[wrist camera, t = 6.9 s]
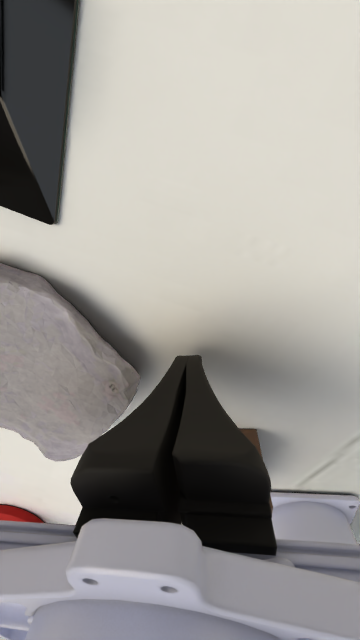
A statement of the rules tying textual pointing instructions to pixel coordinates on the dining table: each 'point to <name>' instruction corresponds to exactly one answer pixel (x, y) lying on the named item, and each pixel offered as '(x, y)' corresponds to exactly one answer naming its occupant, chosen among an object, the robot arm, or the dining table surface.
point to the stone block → (56, 369)
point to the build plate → (35, 102)
